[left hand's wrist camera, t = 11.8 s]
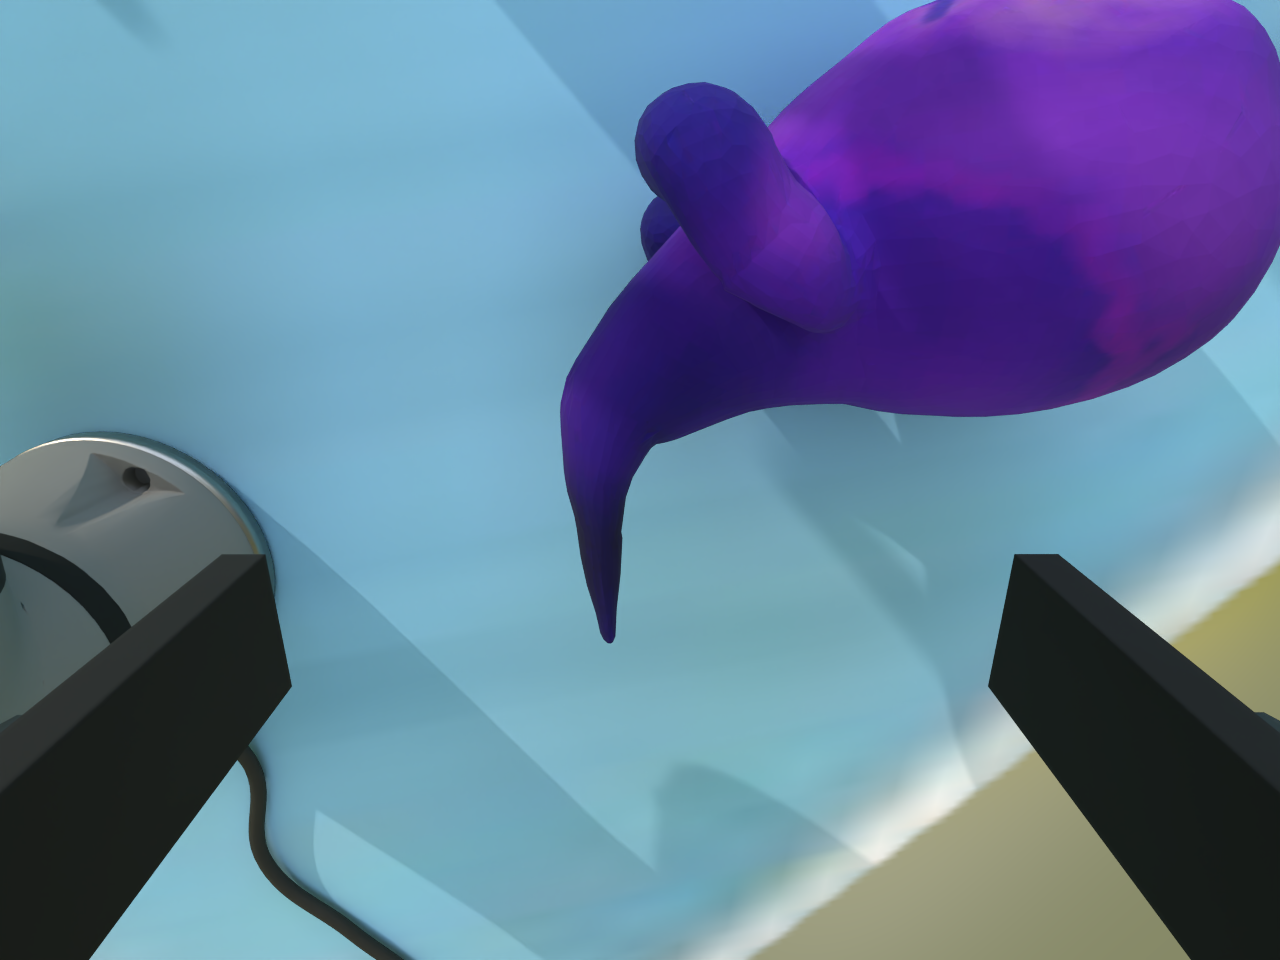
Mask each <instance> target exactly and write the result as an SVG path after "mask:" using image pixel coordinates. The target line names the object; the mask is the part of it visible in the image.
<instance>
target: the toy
mask: <svg viewBox="0 0 1280 960" xmlns="http://www.w3.org/2000/svg"><path fill="white" fill-rule="evenodd" d="M635 152H636V161H637V164H638V167H639V169H640V172H641V175H642V177H643V178H644V180H645V181H646V183H647V184H648V186H649V187H650V189H651V190H652V191H653V192H654V193H655V194H656V195H657V196H658V197H656V198H655V199H653V201H652V202H651V203H650V205H649V206H648V208H647V209H646V211H645V213H644V215H643V218H642V222H641V228H640V231H641V242H642V246H643V249H644V252H645V254H646V257H647V260H648V262H647V263H646V264H645V265H644V267H643V268H642V269H641V270H640V271H639V272H638V273H637V274H636V275H635V277H634V278H633V279H632V280H631V281H630V282H629V283H628V285H627V286H626V287H625V288H624V290H623V291H622V292H621V293H620V295H619V296H618V297H617V298H616V299H615V301H614V302H613V303H612V304H611V306H610V307H609V309H608V310H607V312H606V313H605V315H604V316H603V318H602V320H601V321H600V323H599V324H598V326H597V327H596V329H595V330H594V332H593V334H592V335H591V337H590V338H589V340H588V341H587V343H586V345H585V346H584V348H583V349H582V351H581V352H580V354H579V356H578V357H577V359H576V360H575V362H574V364H573V366H572V368H571V370H570V372H569V374H568V376H567V378H566V382H565V387H564V391H563V395H562V400H561V408H560V418H561V436H562V450H563V464H564V474H565V481H566V486H567V492H568V495H569V499H570V502H571V506H572V509H573V513H574V516H575V521H576V527H577V534H578V541H579V548H580V555H581V560H582V565H583V569H584V574H585V578H586V583H587V587H588V590H589V593H590V596H591V599H592V602H593V606H594V609H595V612H596V616H597V620H598V624H599V629H600V633H601V635H602V637H603V639H604V640H605V641H606V642H607V643H612V642H613V640H614V638H615V633H616V611H617V601H618V592H619V583H620V573H621V554H622V533H621V530H622V522H623V514H624V507H625V499H626V495H627V492H628V489H629V486H630V483H631V480H632V478H633V476H634V474H635V473H636V471H637V469H638V468H639V466H640V464H641V463H642V461H643V459H644V458H645V456H646V455H647V453H648V452H649V450H650V449H651V448H652V447H653V446H654V445H656V444H659V443H665V442H668V441H672V440H675V439H678V438H681V437H683V436H686V435H688V434H691V433H693V432H696V431H698V430H701V429H703V428H706V427H709V426H711V425H714V424H716V423H719V422H721V421H724V420H726V419H729V418H732V417H735V416H738V415H741V414H744V413H747V412H750V411H755V410H761V409H766V408H773V407H780V406H788V405H808V404H847V405H852V406H857V407H861V408H866V409H871V410H875V411H882V412H890V413H898V414H912V415H932V416H952V417H987V416H1000V415H1013V414H1022V413H1029V412H1035V411H1041V410H1047V409H1053V408H1057V407H1061V406H1065V405H1069V404H1073V403H1078V402H1082V401H1086V400H1090V399H1094V398H1097V397H1099V396H1102V395H1105V394H1108V393H1111V392H1114V391H1117V390H1120V389H1123V388H1126V387H1129V386H1131V385H1134V384H1136V383H1138V382H1141V381H1143V380H1145V379H1147V378H1150V377H1152V376H1154V375H1156V374H1158V373H1160V372H1161V371H1163V370H1165V369H1167V368H1168V367H1170V366H1172V365H1174V364H1175V363H1177V362H1179V361H1180V360H1182V359H1184V358H1186V357H1187V356H1188V355H1190V354H1191V353H1193V352H1194V351H1196V350H1197V349H1198V348H1200V347H1201V346H1203V345H1204V344H1206V343H1207V342H1208V341H1210V340H1211V339H1212V338H1213V337H1215V336H1216V335H1217V334H1218V333H1219V332H1220V331H1221V330H1222V329H1223V328H1224V327H1226V326H1227V325H1228V324H1229V323H1230V322H1231V321H1232V320H1233V319H1234V317H1235V316H1236V315H1237V314H1238V312H1239V311H1240V310H1241V309H1242V307H1243V306H1244V305H1245V304H1246V302H1247V301H1248V300H1249V298H1250V297H1251V296H1252V295H1253V293H1254V292H1255V290H1256V289H1257V287H1258V285H1259V284H1260V282H1261V280H1262V279H1263V277H1264V275H1265V274H1266V272H1267V270H1268V268H1269V267H1270V265H1271V263H1272V262H1273V259H1274V257H1275V255H1276V253H1277V250H1278V248H1279V246H1280V62H1279V58H1278V55H1277V52H1276V49H1275V47H1274V45H1273V43H1272V41H1271V39H1270V37H1269V36H1268V34H1267V32H1266V30H1265V29H1264V27H1263V26H1262V25H1261V24H1260V23H1259V21H1258V20H1257V19H1256V18H1255V17H1254V16H1253V15H1252V14H1251V13H1250V12H1249V11H1248V10H1247V9H1246V8H1245V7H1244V6H1242V5H1240V4H1238V3H1236V2H1234V1H1232V0H936V1H934V2H931V3H929V4H926V5H923V6H921V7H918V8H915V9H912V10H910V11H908V12H906V13H904V14H902V15H900V16H899V17H897V18H895V19H893V20H891V21H890V22H888V23H887V24H885V25H884V26H883V27H881V28H880V29H879V30H877V31H876V32H875V33H873V34H872V35H871V36H870V37H869V38H867V39H866V40H865V41H864V42H863V43H861V44H860V45H859V46H858V47H857V48H855V49H854V50H853V51H852V52H851V53H850V54H848V55H847V56H846V57H845V58H844V59H842V60H841V61H840V62H839V63H837V64H836V65H835V66H834V67H832V68H831V69H830V70H829V71H827V72H826V73H825V74H824V75H822V76H821V77H820V78H819V79H818V80H816V81H815V82H814V83H813V84H811V85H810V86H809V87H808V88H807V89H805V90H804V91H803V92H802V93H801V94H800V95H799V96H798V97H796V98H795V99H794V100H793V101H792V102H791V103H790V104H789V105H788V106H787V107H786V108H785V109H784V110H783V111H782V112H781V113H780V114H779V115H778V116H777V117H776V118H775V120H774V121H773V122H772V123H771V124H770V125H769V126H768V128H767V126H766V125H765V123H764V122H763V121H762V119H761V118H760V116H759V115H758V114H757V112H756V111H755V109H754V108H753V107H752V106H751V105H749V104H748V103H747V102H746V101H745V100H743V99H742V98H741V97H740V96H739V95H737V94H736V93H735V92H733V91H731V90H729V89H727V88H724V87H721V86H717V85H714V84H710V83H706V82H700V83H688V84H685V85H681V86H678V87H674V88H671V89H670V90H668V91H666V92H664V93H663V94H661V95H660V96H659V97H658V98H657V99H655V100H654V101H653V102H652V103H650V104H649V105H648V106H647V108H646V109H645V111H644V113H643V115H642V116H641V118H640V120H639V123H638V127H637V132H636V137H635Z"/></svg>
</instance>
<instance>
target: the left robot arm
mask: <svg viewBox="0 0 1280 960" xmlns="http://www.w3.org/2000/svg"><path fill="white" fill-rule="evenodd" d="M274 591H275V577H274V568H273V562H272V558H271V554H270V550H269V547H268V545H267V542H266V539H265V537H264V535H263V533H262V531H261V529H260V527H259V525H258V523H257V521H256V520H255V518H254V516H253V515H252V513H251V512H250V510H249V509H248V508H247V506H246V505H245V504H244V502H243V501H242V500H241V499H240V498H239V496H238V495H237V494H236V493H235V492H234V491H233V490H232V489H231V488H230V487H229V486H228V485H227V484H226V483H225V482H224V481H223V480H222V479H221V478H219V477H218V476H217V475H216V474H215V473H213V472H212V471H211V470H210V469H208V468H207V467H205V466H204V465H203V464H201V463H200V462H198V461H196V460H195V459H193V458H191V457H190V456H188V455H186V454H184V453H182V452H180V451H178V450H176V449H174V448H172V447H170V446H167V445H165V444H162V443H160V442H157V441H154V440H151V439H147V438H144V437H140V436H135V435H131V434H125V433H117V432H85V433H78V434H72V435H68V436H65V437H61V438H58V439H55V440H53V441H50V442H47V443H45V444H42V445H39V446H37V447H34V448H32V449H29V450H27V451H25V452H23V453H21V454H20V455H18V456H16V457H15V458H13V459H12V460H10V461H8V462H7V463H5V464H3V465H2V466H0V960H89V959H90V958H91V956H92V955H93V954H94V952H95V951H96V950H97V948H98V947H99V946H100V944H101V943H102V942H103V940H104V939H105V938H106V936H107V935H108V933H109V932H110V931H111V929H112V928H113V927H114V925H115V924H116V923H117V921H118V920H119V919H120V917H121V916H122V915H123V913H124V912H125V911H126V909H127V908H128V907H129V905H130V904H131V902H132V901H133V900H134V898H135V897H136V896H137V894H138V893H139V892H140V890H141V889H142V888H143V886H144V885H145V884H146V882H147V881H148V880H149V878H150V877H151V876H152V874H153V873H154V871H155V870H156V869H157V867H158V866H159V865H160V863H161V862H162V861H163V859H164V858H165V857H166V855H167V854H168V853H169V851H170V850H171V849H172V847H173V846H174V845H175V843H176V842H177V840H178V839H179V838H180V836H181V835H182V834H183V832H184V831H185V830H186V828H187V827H188V826H189V824H190V823H191V822H192V820H193V819H194V818H195V816H196V815H197V814H198V812H199V811H200V809H201V808H202V807H203V805H204V804H205V803H206V801H207V800H208V799H209V797H210V796H211V795H212V793H213V792H214V791H215V789H216V788H217V787H218V785H219V784H220V783H221V781H222V780H223V778H224V777H225V776H226V774H227V773H228V772H229V770H230V769H231V768H232V766H233V765H234V764H235V762H236V761H237V760H238V761H239V762H240V764H241V765H242V767H243V768H244V770H245V772H246V775H247V777H248V781H249V785H250V793H251V802H250V816H249V841H250V846H251V850H252V853H253V856H254V858H255V860H256V862H257V864H258V866H259V868H260V869H261V871H262V872H263V874H264V875H265V876H266V878H267V879H268V880H269V881H270V882H271V883H272V885H273V886H274V887H275V888H276V889H277V890H279V891H280V892H281V893H282V894H283V895H284V896H286V897H287V898H288V899H290V900H291V901H292V902H294V903H295V904H296V905H298V906H299V907H301V908H302V909H304V910H306V911H307V912H309V913H310V914H312V915H314V916H315V917H317V918H318V919H320V920H321V921H323V922H325V923H326V924H328V925H329V926H331V927H332V928H334V929H335V930H336V931H338V932H339V933H341V934H342V935H343V936H345V937H346V938H347V939H349V940H350V941H351V942H352V943H354V944H355V945H356V946H358V947H359V948H360V949H362V950H363V951H365V952H366V953H367V954H369V955H370V956H372V957H373V958H375V959H376V960H404V959H402V958H401V957H399V956H398V955H397V954H395V953H394V952H392V951H391V950H389V949H388V948H387V947H385V946H384V945H382V944H381V943H379V942H378V941H376V940H375V939H374V938H372V937H371V936H370V935H368V934H367V933H365V932H364V931H363V930H362V929H360V928H359V927H358V926H357V925H355V924H354V923H353V922H351V921H350V920H349V919H347V918H346V917H345V916H343V915H342V914H340V913H339V912H337V911H336V910H334V909H333V908H331V907H330V906H328V905H327V904H325V903H323V902H322V901H320V900H319V899H317V898H316V897H314V896H312V895H311V894H309V893H308V892H307V891H305V890H304V889H302V888H301V887H300V886H298V885H297V884H296V883H294V882H293V881H292V880H291V879H290V878H289V877H288V876H287V875H286V874H285V873H284V872H283V871H282V870H281V869H280V868H279V866H278V865H277V864H276V862H275V861H274V859H273V858H272V856H271V854H270V853H269V850H268V847H267V845H266V840H265V831H264V824H265V811H266V792H267V791H266V782H265V777H264V773H263V770H262V768H261V765H260V763H259V761H258V759H257V757H256V756H255V754H254V753H253V751H252V750H251V749H250V748H249V746H248V745H249V743H250V742H251V741H252V739H253V738H254V737H255V735H256V734H257V733H258V731H259V730H260V729H261V727H262V726H263V725H264V723H265V722H266V721H267V719H268V718H269V716H270V715H271V714H272V712H273V711H274V710H275V708H276V707H277V706H278V704H279V703H280V702H281V700H282V699H283V698H284V696H285V695H286V694H287V692H288V691H289V690H290V688H291V687H292V684H291V679H290V674H289V669H288V664H287V659H286V654H285V649H284V644H283V639H282V634H281V629H280V624H279V619H278V614H277V609H276V604H275V599H274ZM988 687H989V688H990V690H991V691H992V692H993V694H994V695H995V696H996V698H997V699H998V700H999V702H1000V703H1001V704H1002V706H1003V707H1004V708H1005V710H1006V711H1007V712H1008V714H1009V715H1010V716H1011V718H1012V719H1013V721H1014V722H1015V723H1016V725H1017V726H1018V727H1019V729H1020V730H1021V731H1022V733H1023V734H1024V735H1025V737H1026V738H1027V739H1028V741H1029V742H1030V743H1031V745H1032V746H1033V747H1034V749H1035V750H1036V752H1037V753H1038V754H1039V756H1040V757H1041V758H1042V760H1043V761H1044V762H1045V764H1046V765H1047V766H1048V768H1049V769H1050V770H1051V772H1052V773H1053V774H1054V776H1055V777H1056V778H1057V780H1058V781H1059V783H1060V784H1061V785H1062V787H1063V788H1064V789H1065V791H1066V792H1067V793H1068V795H1069V796H1070V797H1071V799H1072V800H1073V801H1074V803H1075V804H1076V805H1077V807H1078V808H1079V809H1080V811H1081V812H1082V813H1083V815H1084V816H1085V818H1086V819H1087V820H1088V822H1089V823H1090V824H1091V826H1092V827H1093V828H1094V830H1095V831H1096V832H1097V834H1098V835H1099V836H1100V838H1101V839H1102V840H1103V842H1104V843H1105V844H1106V846H1107V847H1108V848H1109V850H1110V851H1111V853H1112V854H1113V855H1114V857H1115V858H1116V859H1117V861H1118V862H1119V863H1120V865H1121V866H1122V867H1123V869H1124V870H1125V871H1126V873H1127V874H1128V876H1129V877H1130V878H1131V879H1132V881H1133V882H1134V884H1135V885H1136V886H1137V888H1138V889H1139V890H1140V892H1141V893H1142V894H1143V896H1144V897H1145V898H1146V900H1147V901H1148V902H1149V904H1150V905H1151V906H1152V908H1153V909H1154V911H1155V912H1156V913H1157V915H1158V916H1159V917H1160V919H1161V920H1162V921H1163V923H1164V924H1165V925H1166V927H1167V928H1168V929H1169V931H1170V932H1171V933H1172V935H1173V936H1174V938H1175V939H1176V940H1177V942H1178V943H1179V944H1180V946H1181V947H1182V948H1183V950H1184V951H1185V952H1186V954H1187V955H1188V956H1189V958H1190V959H1191V960H1280V721H1279V720H1277V719H1275V718H1273V717H1272V716H1270V715H1268V714H1266V713H1264V712H1253V711H1252V710H1251V709H1250V708H1248V707H1247V706H1246V705H1245V704H1243V703H1242V702H1241V701H1240V700H1238V699H1237V698H1236V697H1235V696H1233V695H1232V694H1231V693H1230V692H1228V691H1227V690H1226V689H1225V688H1224V687H1222V686H1221V685H1220V684H1219V683H1217V682H1216V681H1215V680H1214V679H1212V678H1211V677H1210V676H1209V675H1207V674H1206V673H1205V672H1204V671H1202V670H1201V669H1200V668H1199V667H1197V666H1196V665H1195V664H1194V663H1192V662H1191V661H1190V660H1189V659H1188V658H1186V657H1185V656H1184V655H1183V654H1181V653H1180V652H1179V651H1178V650H1176V649H1175V648H1174V647H1173V646H1171V645H1170V644H1169V643H1168V642H1166V641H1165V640H1164V639H1163V638H1162V637H1160V636H1159V635H1158V634H1157V633H1155V632H1154V631H1153V630H1152V629H1150V628H1149V627H1148V626H1147V625H1145V624H1144V623H1143V622H1142V621H1140V620H1139V619H1138V618H1137V617H1135V616H1134V615H1133V614H1132V613H1130V612H1129V611H1128V610H1127V609H1126V608H1124V607H1123V606H1122V605H1121V604H1119V603H1118V602H1117V601H1116V600H1114V599H1113V598H1112V597H1111V596H1109V595H1108V594H1107V593H1106V592H1104V591H1103V590H1102V589H1101V588H1099V587H1098V586H1097V585H1096V584H1095V583H1093V582H1092V581H1091V580H1090V579H1088V578H1087V577H1086V576H1085V575H1083V574H1082V573H1081V572H1080V571H1078V570H1077V569H1076V568H1075V567H1073V566H1072V565H1071V564H1070V563H1068V562H1067V561H1066V560H1065V559H1064V558H1062V557H1061V556H1060V555H1059V554H1014V559H1013V564H1012V569H1011V574H1010V579H1009V584H1008V589H1007V594H1006V599H1005V604H1004V609H1003V614H1002V619H1001V624H1000V629H999V634H998V639H997V644H996V649H995V654H994V659H993V664H992V669H991V674H990V679H989V684H988Z"/></svg>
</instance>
